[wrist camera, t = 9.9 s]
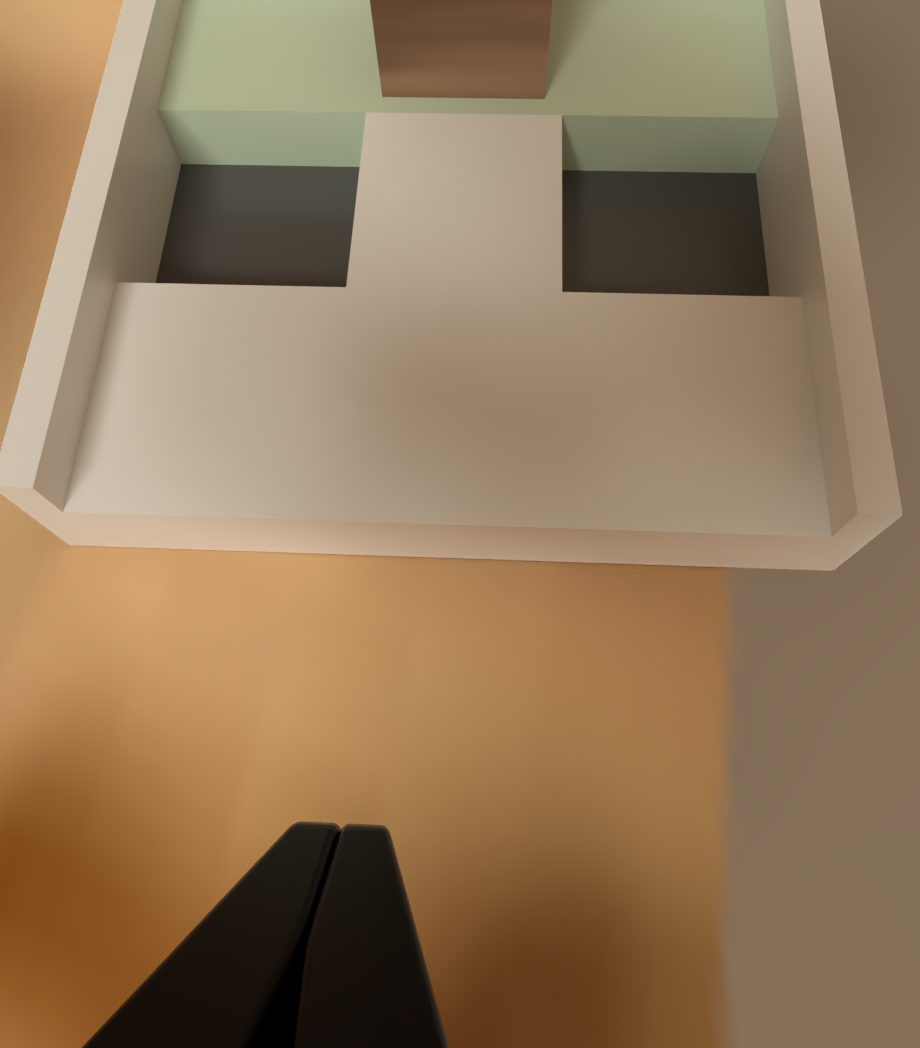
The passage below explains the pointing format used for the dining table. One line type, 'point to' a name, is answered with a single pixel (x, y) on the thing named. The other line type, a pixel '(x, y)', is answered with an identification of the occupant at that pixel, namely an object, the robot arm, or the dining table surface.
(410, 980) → the robot arm
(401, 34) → the block
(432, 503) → the trap box
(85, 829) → the dining table surface
